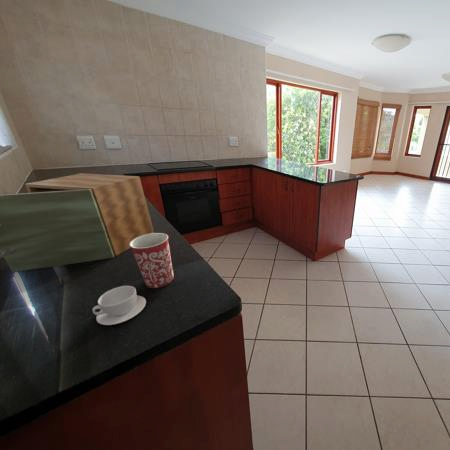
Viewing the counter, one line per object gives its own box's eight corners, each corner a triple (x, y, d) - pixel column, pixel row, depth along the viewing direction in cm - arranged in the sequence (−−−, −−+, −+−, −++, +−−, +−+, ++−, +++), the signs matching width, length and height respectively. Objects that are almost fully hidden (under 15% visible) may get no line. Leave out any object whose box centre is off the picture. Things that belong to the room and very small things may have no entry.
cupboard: (116, 256, 82) (93, 188, 72) (54, 249, 86) (24, 183, 76) (154, 234, 98) (139, 176, 88) (100, 229, 102) (81, 173, 92)
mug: (173, 288, 66) (162, 245, 61) (137, 292, 64) (122, 249, 59) (183, 264, 77) (175, 226, 72) (153, 267, 76) (142, 228, 70)
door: (108, 265, 76) (82, 194, 67) (-1, 282, 68) (-48, 203, 58) (114, 256, 81) (91, 188, 72) (14, 270, 73) (-27, 196, 64)
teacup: (140, 291, 65) (135, 277, 63) (151, 310, 58) (147, 295, 56) (93, 310, 58) (87, 295, 56) (100, 334, 52) (93, 317, 50)
